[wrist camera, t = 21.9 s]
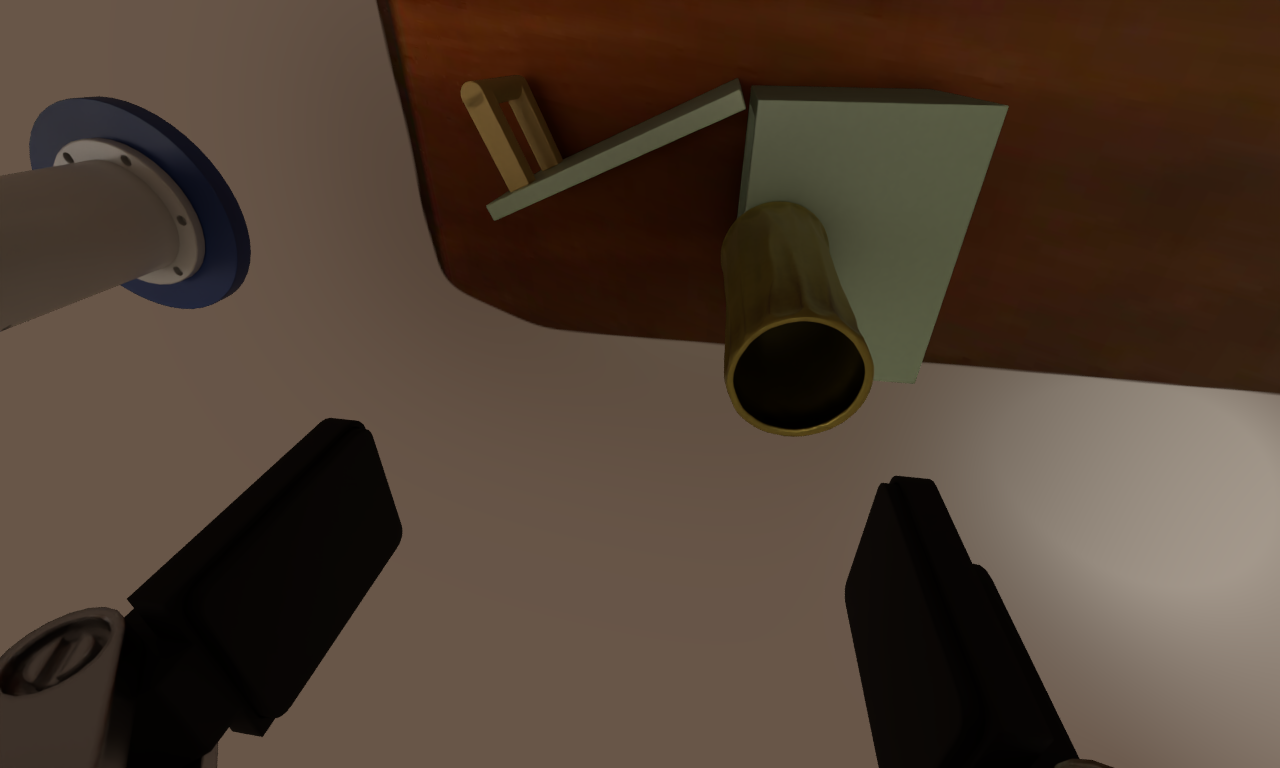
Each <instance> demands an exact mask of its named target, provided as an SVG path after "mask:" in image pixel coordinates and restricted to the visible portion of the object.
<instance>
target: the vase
mask: <svg viewBox="0 0 1280 768" xmlns="http://www.w3.org/2000/svg"><path fill="white" fill-rule="evenodd" d="M721 267H722V270H723V274H724V288H725V296H726V330H725V355H724V379H725V384H726V388H727V392H728V394H729V396H730V399H731V401H732V404H733V406H734V408H735V409H736V411H737V413H738V414H739V415H740V416H741V417H742V418H743V419H745V420H746V421H747V422H748V423H750V424H751V425H753V426H754V427H756V428H758V429H760V430H762V431H765V432H768V433H773V434H777V435H783V436H793V437H794V436H806V435H812V434H816V433H820V432H823V431H826V430H829V429H831V428H833V427H835V426H837V425H839V424H841V423H843V422H844V421H845V420H847V419H848V418H849V417H851V416H852V415H853V414H854V413H855V412H856V411H857V410H858V409H859V408H860V407H861V405H862V404H863V403H864V401H865V400H866V398H867V396H868V394H869V392H870V389H871V386H872V382H873V378H874V363H873V359H872V357H871V354H870V351H869V349H868V346H867V344H866V342H865V340H864V337H863V336H862V334H861V333H860V331H859V329H858V325H857V320H856V317H855V315H854V313H853V311H852V308H851V306H850V304H849V301H848V299H847V297H846V295H845V292H844V290H843V288H842V286H841V283H840V281H839V278H838V275H837V272H836V270H835V267H834V264H833V261H832V258H831V255H830V252H829V241H828V237H827V234H826V231H825V228H824V227H823V225H822V223H821V222H820V220H819V219H818V218H817V217H816V216H815V215H814V214H813V213H812V212H811V211H809V210H808V209H806V208H805V207H803V206H801V205H798V204H795V203H791V202H783V201H776V202H767V203H763V204H760V205H758V206H755V207H753V208H751V209H750V210H748V211H746V212H745V213H744V214H742V215H741V216H740V217H738V218H737V219H736V220H735V222H734V223H733V224H732V226H731V227H730V229H729V231H728V232H727V234H726V236H725V238H724V241H723V244H722V248H721Z"/></svg>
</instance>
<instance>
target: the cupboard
mask: <svg viewBox="0 0 1280 768" xmlns="http://www.w3.org/2000/svg"><path fill="white" fill-rule="evenodd" d="M1007 110H1008V106H1007V105H1003V104H998V103H994V102H989V101H984V100H980V99H975V98H970V97H966V96H961V95H956V94H952V93H947V92H942V91H938V90H933V89H899V88H852V87H805V86H759V85H752V86H751V93H750V102H749V111H748V121H747V130H746V139H745V149H744V158H743V167H742V177H741V186H740V195H739V205H738V214H737V218H738V217H740V216H741V215H742V214H744V213H745V212H746V211H748V210H750V209H751V208H753V207H755V206H758V205H760V204H763V203H767V202H776V201H783V202H791V203H795V204H798V205H801V206H803V207H805V208H806V209H808V210H809V211H811V212H812V213H813V214H814V215H815V216H816V217H817V218H818V219H819V220H820V222H821V223H822V225H823V227H824V228H825V231H826V234H827V237H828V241H829V252H830V255H831V258H832V261H833V264H834V267H835V270H836V272H837V275H838V278H839V281H840V283H841V286H842V288H843V290H844V292H845V295H846V297H847V299H848V301H849V304H850V306H851V308H852V311H853V313H854V315H855V317H856V320H857V325H858V329H859V331H860V333H861V334H862V336H863V337H864V340H865V342H866V344H867V346H868V349H869V351H870V354H871V357H872V359H873V363H874V378H873V380H875V381H887V382H899V383H911V384H914V383H915V381H916V378H917V375H918V372H919V369H920V366H921V363H922V360H923V357H924V355H925V352H926V349H927V346H928V343H929V340H930V337H931V334H932V331H933V328H934V325H935V322H936V319H937V316H938V313H939V310H940V307H941V304H942V301H943V298H944V295H945V293H946V290H947V287H948V284H949V281H950V278H951V275H952V272H953V269H954V266H955V263H956V260H957V257H958V254H959V251H960V248H961V245H962V242H963V239H964V236H965V234H966V231H967V228H968V225H969V222H970V219H971V216H972V213H973V210H974V207H975V204H976V201H977V198H978V195H979V192H980V189H981V186H982V183H983V180H984V177H985V175H986V172H987V169H988V166H989V163H990V160H991V157H992V154H993V151H994V148H995V145H996V142H997V139H998V136H999V133H1000V130H1001V127H1002V124H1003V121H1004V118H1005V115H1006V113H1007Z"/></svg>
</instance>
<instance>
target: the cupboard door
mask: <svg viewBox="0 0 1280 768" xmlns="http://www.w3.org/2000/svg"><path fill="white" fill-rule="evenodd" d="M461 98H462V100H463V102H464V104H465V106H466V108H467V110H468V112H469V114H470V115H471V117H472V119H473V121H474V123H475V125H476V127H477V129H478V131H479V133H480V135H481V137H482V139H483V141H484V142H485V144H486V146H487V148H488V150H489V152H490V154H491V156H492V158H493V160H494V162H495V164H496V166H497V167H498V169H499V171H500V173H501V175H502V177H503V179H504V181H505V183H506V185H507V187H508V189H509V191H508V192H506V193H505V194H503V195H502V196H500V197H499V198H497V199H496V200H494V201H493V202H491V203H489V204H488V205H487V206H486V207H487V209H488V211H489V213H490V214H491V216H492V218H493V220H494V221H496V220H498V219H500V218H502V217H505V216H507V215H509V214H511V213H514V212H516V211H518V210H520V209H523V208H525V207H527V206H529V205H532V204H534V203H536V202H538V201H540V200H543V199H545V198H547V197H549V196H552V195H554V194H556V193H558V192H561V191H563V190H565V189H567V188H570V187H572V186H574V185H576V184H579V183H581V182H583V181H585V180H588V179H590V178H592V177H594V176H597V175H599V174H601V173H603V172H606V171H608V170H610V169H612V168H615V167H617V166H619V165H621V164H624V163H626V162H628V161H630V160H632V159H635V158H637V157H639V156H641V155H644V154H646V153H648V152H650V151H653V150H655V149H657V148H659V147H662V146H664V145H666V144H668V143H671V142H673V141H675V140H677V139H680V138H682V137H684V136H686V135H689V134H691V133H693V132H695V131H698V130H700V129H702V128H704V127H707V126H709V125H711V124H713V123H715V122H718V121H720V120H722V119H724V118H727V117H729V116H731V115H733V114H736V113H738V112H740V111H742V110H745V109H746V106H745V101H744V97H743V92H742V89H741V85H740V82H739V79H738V78H736V79H734V80H732V81H730V82H728V83H726V84H723V85H721V86H719V87H717V88H715V89H713V90H711V91H709V92H706V93H704V94H702V95H700V96H698V97H696V98H694V99H691V100H689V101H687V102H685V103H683V104H681V105H679V106H676V107H674V108H672V109H670V110H668V111H666V112H664V113H661V114H659V115H657V116H655V117H653V118H651V119H649V120H646V121H644V122H642V123H640V124H638V125H636V126H634V127H632V128H629V129H627V130H625V131H623V132H621V133H619V134H617V135H614V136H612V137H610V138H608V139H606V140H604V141H602V142H599V143H597V144H595V145H593V146H591V147H589V148H587V149H584V150H582V151H580V152H578V153H576V154H574V155H572V156H569V157H567V158H565V159H562V157H561V155H560V152H559V150H558V148H557V146H556V144H555V142H554V139H553V137H552V135H551V133H550V131H549V129H548V126H547V124H546V122H545V120H544V118H543V116H542V113H541V111H540V109H539V107H538V105H537V103H536V100H535V98H534V96H533V94H532V92H531V90H530V87H529V85H528V83H527V81H526V79H525V78H524V77H522V76H520V75H513V76H505V77H498V78H490V79H483V80H475V81H468V82H466V83H464V84H463V86H462V88H461ZM507 101H508V102H509V104H510V106H511V108H512V110H513V112H514V114H515V116H516V118H517V120H518V122H519V124H520V126H521V128H522V131H523V133H524V135H525V137H526V139H527V141H528V143H529V145H530V147H531V149H532V151H533V153H534V155H535V157H536V159H537V162H538V164H539V166H540V168H541V171H539V172H537V173H536V174H533V172H532V170H531V168H530V166H529V164H528V162H527V160H526V158H525V156H524V154H523V152H522V150H521V148H520V146H519V144H518V142H517V140H516V138H515V136H514V134H513V132H512V130H511V128H510V126H509V124H508V122H507V120H506V118H505V116H504V114H503V112H502V109H501V107H500V105H499V103H502V102H507Z"/></svg>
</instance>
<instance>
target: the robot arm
mask: <svg viewBox="0 0 1280 768" xmlns="http://www.w3.org/2000/svg"><path fill="white" fill-rule="evenodd" d="M204 255H205V239H204V235H203V230H202V227H201V224H200V221H199V219H198V216H197V214H196V212H195V210H194V208H193V207H192V205H191V203H190V201H189V200H188V198H187V197H186V195H185V194H184V193H183V191H182V190H181V188H180V187H179V186H178V185H177V184H176V183H175V182H174V180H173V179H172V178H171V177H170V176H169V175H168V174H167V173H166V172H165V171H164V170H163V169H161V168H160V167H159V166H158V165H157V164H156V163H155V162H153V161H152V160H150V159H149V158H148V157H146V156H145V155H143V154H142V153H140V152H139V151H137V150H135V149H133V148H131V147H129V146H127V145H125V144H122V143H119V142H117V141H114V140H110V139H103V138H88V139H81V140H76V141H72V142H70V143H68V144H67V145H65V146H63V147H62V148H61V150H60V151H59V152H58V154H57V155H56V158H55V161H54V165H53V167H48V168H42V169H36V170H31V171H25V172H20V173H14V174H8V175H3V176H0V332H1V331H3V330H6V329H8V328H11V327H13V326H16V325H18V324H21V323H24V322H26V321H29V320H31V319H34V318H36V317H39V316H42V315H44V314H47V313H49V312H52V311H54V310H57V309H59V308H62V307H64V306H67V305H69V304H72V303H75V302H77V301H80V300H82V299H85V298H88V297H90V296H92V295H95V294H98V293H100V292H103V291H105V290H108V289H110V288H113V287H116V286H118V285H121V284H123V283H126V282H128V281H131V280H134V279H136V278H137V279H140V280H143V281H145V282H148V283H154V284H160V285H163V284H174V283H177V282H181V281H183V280H185V279H187V278H189V277H191V276H193V275H194V274H195V273H196V272H197V271H198V270H199V268H200V267H201V265H202V263H203V259H204ZM401 538H402V525H401V522H400V519H399V516H398V513H397V510H396V507H395V504H394V500H393V497H392V494H391V491H390V488H389V485H388V482H387V479H386V476H385V473H384V470H383V466H382V464H381V460H380V457H379V454H378V451H377V448H376V445H375V442H374V439H373V436H372V434H371V432H370V431H369V430H366V429H365V427H364V425H363V424H362V423H361V422H359V421H355V420H345V419H336V418H328V419H325V420H323V421H322V422H320V423H319V424H318V425H317V426H316V427H315V428H314V429H313V430H312V431H310V432H309V433H308V434H307V435H306V436H305V437H304V438H303V439H302V440H300V441H299V443H297V444H296V445H295V446H294V447H293V448H292V449H291V450H290V451H289V452H287V453H286V454H285V455H284V456H283V457H282V458H281V459H280V460H279V461H278V462H276V463H275V464H274V465H273V466H272V467H271V468H270V469H269V470H268V471H267V472H265V473H264V474H263V475H262V476H261V477H260V478H259V479H258V480H257V481H256V482H254V484H252V485H251V486H250V487H249V488H248V489H247V490H246V491H245V492H243V493H242V494H241V495H240V496H239V497H238V498H237V499H236V500H235V501H234V502H233V503H231V504H230V505H229V506H228V507H227V508H226V509H225V510H224V511H223V512H222V513H220V514H219V515H218V516H217V517H216V518H215V519H214V520H213V521H212V522H211V523H209V524H208V525H207V526H206V527H205V528H204V529H203V530H202V531H201V532H200V533H199V534H197V536H195V537H194V538H193V539H192V540H191V541H190V542H189V543H188V544H186V546H185V547H183V548H182V549H181V550H180V551H179V552H178V553H177V554H175V555H174V556H173V557H172V558H171V559H170V560H169V561H168V562H167V563H166V564H165V565H163V566H162V567H161V568H160V569H159V570H158V571H157V572H156V573H155V574H154V575H152V576H151V577H150V578H149V579H148V580H147V581H146V582H145V583H144V584H143V585H142V586H140V587H139V588H138V589H137V590H136V591H135V592H134V593H133V594H132V595H131V596H129V597H128V598H127V600H128V601H129V602H130V604H131V605H132V606H133V607H134V609H133V610H132V611H131V612H130V613H129V614H128V615H127V616H125V617H123V616H122V615H121V614H120V613H119V612H118V611H117V610H115V609H111V608H107V607H98V608H87V609H84V610H80V611H76V612H73V613H69V614H67V615H64V616H62V617H60V618H57V619H55V620H53V621H50V622H48V623H46V624H45V625H43V626H41V627H40V628H38V629H37V630H34V631H33V632H31V633H29V634H28V635H26V636H25V637H24V638H22V639H21V640H20V641H18V642H17V643H16V644H15V645H13V646H12V647H11V648H9V649H8V650H7V651H6V652H5V653H4V654H3V655H2V656H1V657H0V768H217V756H218V741H219V740H220V738H221V737H222V736H223V735H224V733H225V732H226V730H227V729H228V728H229V727H230V729H231V730H232V731H233V732H239V733H244V734H250V735H255V736H261V737H263V736H264V734H265V733H266V731H267V730H268V728H269V727H270V725H271V724H272V722H273V721H274V719H275V718H278V717H280V716H282V715H283V714H284V713H286V712H287V711H288V709H289V708H290V707H291V705H292V704H293V702H294V701H295V699H296V698H297V696H298V695H299V693H300V692H301V690H302V689H303V688H304V686H305V685H306V683H307V681H308V680H309V679H310V677H311V676H312V674H313V673H314V671H315V670H316V668H317V667H318V665H319V664H320V662H321V661H322V659H323V658H324V656H325V655H326V653H327V651H328V650H329V648H330V647H331V646H332V644H333V643H334V641H335V640H336V638H337V637H338V635H339V634H340V632H341V630H342V629H343V628H344V626H345V625H346V623H347V622H348V620H349V619H350V617H351V616H352V614H353V613H354V611H355V610H356V608H357V607H358V605H359V604H360V602H361V601H362V599H363V597H364V596H365V595H366V593H367V592H368V590H369V589H370V587H371V586H372V584H373V583H374V581H375V580H376V578H377V577H378V575H379V574H380V572H381V571H382V569H383V568H384V566H385V565H386V563H387V562H388V560H389V559H390V557H391V556H392V555H393V553H394V552H395V550H396V549H397V547H398V545H399V543H400V541H401ZM845 603H846V609H847V613H848V618H849V623H850V628H851V633H852V638H853V643H854V648H855V653H856V658H857V662H858V668H859V673H860V677H861V682H862V687H863V692H864V697H865V701H866V707H867V712H868V717H869V722H870V727H871V732H872V736H873V742H874V746H875V751H876V756H877V761H878V765H879V768H1113V767H1110V766H1107V765H1105V764H1102V763H1099V762H1096V761H1093V760H1086V759H1079V757H1078V755H1077V753H1076V751H1075V749H1074V747H1073V745H1072V742H1071V741H1070V738H1069V736H1068V734H1067V732H1066V730H1065V728H1064V726H1063V724H1062V722H1061V720H1060V718H1059V716H1058V714H1057V712H1056V710H1055V708H1054V706H1053V703H1052V701H1051V699H1050V697H1049V695H1048V693H1047V691H1046V689H1045V687H1044V685H1043V683H1042V681H1041V679H1040V677H1039V675H1038V673H1037V671H1036V669H1035V667H1034V665H1033V662H1032V660H1031V658H1030V656H1029V654H1028V652H1027V650H1026V648H1025V646H1024V644H1023V642H1022V640H1021V638H1020V636H1019V634H1018V632H1017V630H1016V628H1015V626H1014V624H1013V622H1012V619H1011V617H1010V615H1009V613H1008V611H1007V609H1006V607H1005V605H1004V603H1003V601H1002V599H1001V597H1000V595H999V593H998V591H997V589H996V586H995V584H994V582H993V580H992V579H991V577H990V575H989V574H988V572H987V571H986V570H985V569H984V568H983V567H981V566H980V565H977V564H972V562H971V560H970V558H969V556H968V553H967V551H966V549H965V547H964V545H963V543H962V540H961V538H960V536H959V534H958V532H957V530H956V528H955V525H954V523H953V521H952V519H951V517H950V515H949V512H948V510H947V508H946V506H945V504H944V502H943V499H942V498H941V495H940V493H939V491H938V489H937V487H936V485H935V483H934V482H933V481H932V480H930V479H923V478H914V477H913V478H912V477H904V476H894V477H893V478H892V479H891V481H890V483H889V484H887V483H881V484H880V486H879V487H878V490H877V493H876V496H875V499H874V502H873V505H872V508H871V510H870V513H869V516H868V519H867V522H866V525H865V528H864V531H863V534H862V537H861V540H860V543H859V546H858V549H857V552H856V555H855V558H854V561H853V564H852V567H851V570H850V573H849V576H848V579H847V582H846V586H845Z"/></svg>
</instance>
